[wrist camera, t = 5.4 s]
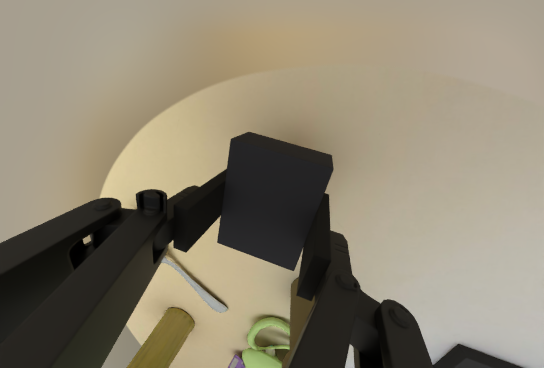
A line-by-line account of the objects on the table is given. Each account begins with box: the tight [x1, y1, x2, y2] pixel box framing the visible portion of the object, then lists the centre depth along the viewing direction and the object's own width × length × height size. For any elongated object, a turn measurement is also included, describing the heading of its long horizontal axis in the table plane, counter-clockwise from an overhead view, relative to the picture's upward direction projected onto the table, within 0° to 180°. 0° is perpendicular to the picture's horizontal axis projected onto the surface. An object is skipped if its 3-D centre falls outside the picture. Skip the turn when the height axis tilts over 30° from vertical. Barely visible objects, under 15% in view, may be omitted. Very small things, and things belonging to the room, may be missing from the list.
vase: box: [127, 308, 194, 368], centre depth 31 cm, size 6×6×14 cm
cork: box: [282, 278, 315, 368], centre depth 22 cm, size 6×6×11 cm
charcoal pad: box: [217, 132, 333, 271], centre depth 14 cm, size 6×8×3 cm
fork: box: [161, 256, 227, 313], centre depth 31 cm, size 3×21×3 cm, turn 40°
